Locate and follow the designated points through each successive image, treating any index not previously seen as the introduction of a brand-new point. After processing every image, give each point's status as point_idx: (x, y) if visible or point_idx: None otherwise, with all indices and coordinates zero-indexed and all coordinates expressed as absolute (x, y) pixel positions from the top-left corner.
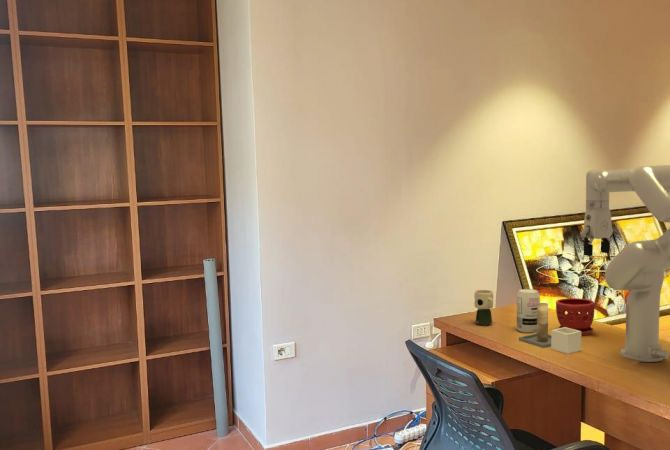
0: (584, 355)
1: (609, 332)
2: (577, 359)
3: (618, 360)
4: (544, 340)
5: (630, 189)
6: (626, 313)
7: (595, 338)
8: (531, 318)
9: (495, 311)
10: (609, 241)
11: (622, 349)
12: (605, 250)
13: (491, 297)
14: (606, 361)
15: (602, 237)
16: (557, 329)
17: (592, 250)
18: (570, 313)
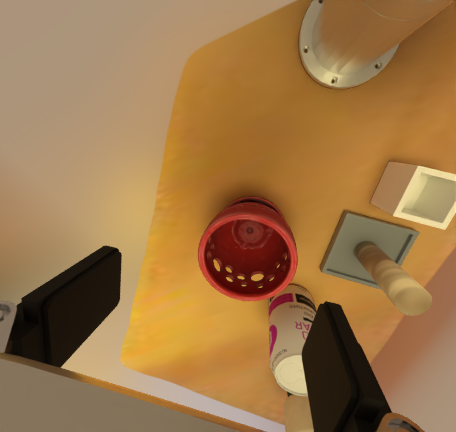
0: (410, 145)
1: (201, 177)
2: (452, 143)
3: (411, 66)
4: (376, 245)
5: None
6: (433, 16)
7: (263, 181)
8: (313, 310)
9: (205, 384)
10: (14, 307)
11: (347, 83)
12: (110, 279)
13: (311, 419)
14: (435, 84)
15: (210, 423)
16: (430, 220)
17: (341, 334)
18: (222, 261)
